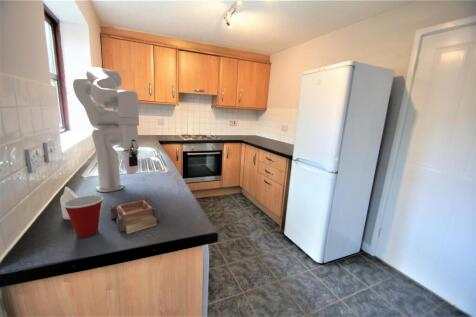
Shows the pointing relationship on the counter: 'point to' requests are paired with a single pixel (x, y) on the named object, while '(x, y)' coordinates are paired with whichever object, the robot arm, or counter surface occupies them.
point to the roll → (65, 197)
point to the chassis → (134, 216)
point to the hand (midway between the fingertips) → (131, 163)
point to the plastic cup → (84, 214)
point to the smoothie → (126, 159)
